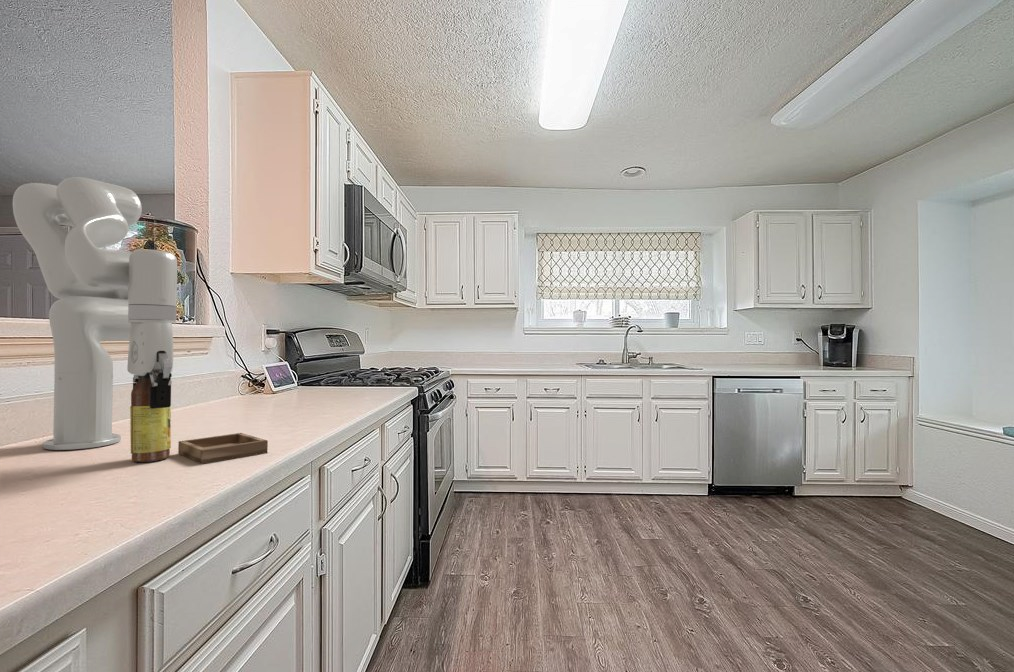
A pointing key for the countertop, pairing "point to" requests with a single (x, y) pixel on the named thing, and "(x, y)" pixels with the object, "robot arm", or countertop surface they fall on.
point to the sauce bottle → (148, 425)
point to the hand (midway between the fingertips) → (151, 405)
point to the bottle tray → (222, 447)
